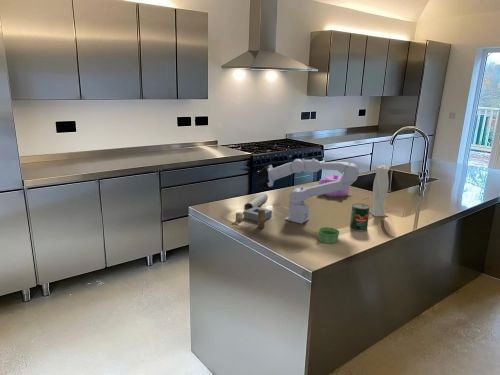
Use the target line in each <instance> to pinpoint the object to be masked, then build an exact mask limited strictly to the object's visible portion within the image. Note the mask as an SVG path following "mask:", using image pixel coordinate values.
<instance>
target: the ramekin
mask: <svg viewBox="0 0 500 375" xmlns="http://www.w3.org/2000/svg"><path fill="white" fill-rule="evenodd" d="M317 232H318V236H317V237H318V240H319V241H320V242H321V243H323V244H326V245H327V244H330V245H331V244H335V243H337V242H338V241H339V235H340V231H339V230H338V229H337V228H333V227H328V226H324V227H320V228H318V229H317Z"/></svg>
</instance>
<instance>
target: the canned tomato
mask: <svg viewBox="0 0 500 375" xmlns="http://www.w3.org/2000/svg"><path fill="white" fill-rule="evenodd" d="M370 208H371V207H370V205H368V204H365V203H359V202H358V203H353V204H352V205H351V212H350V213H351V216H350V223H349V224H350V225H349V228H350V229H351V230H353V231H357V232H365V231H367V230H368V227H369V225H368V224H369V217H370V216H369V215H370V213H369V212H370Z"/></svg>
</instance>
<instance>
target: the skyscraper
mask: <svg viewBox="0 0 500 375" xmlns="http://www.w3.org/2000/svg"><path fill="white" fill-rule="evenodd" d="M390 168H391V165H390V164H389V163H387V164H386V165H384V164H383V165H381V164H377V165H376V166H375V169H376V170H375V171H376V173H375V176H374V180H373V185H372V204H373V206H372V208H371V211H369V215H371V214H372V216H373V217H374V216H375V217H374V218H387V217H389V215H388V214H386V213H385V209H384V205H385V202H386V200H387V199H386V198H387V196H388V192H389V173H388V172H389V170H390Z"/></svg>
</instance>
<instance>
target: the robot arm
mask: <svg viewBox="0 0 500 375" xmlns="http://www.w3.org/2000/svg"><path fill="white" fill-rule="evenodd" d="M320 170H325V171H326V170H327V171H328V170H329V171H337V172H339V174H340V173H341V175H342V176H341V179H340V180H336V181H332V182H328V183H324V184H320V185H319V184H316V185H312V186H303V187H301V186H296V187H294V188H293V189H292V190H291V193H289V196H288V198H289V201H288V216H286V217H285V218H284V220H286V221H290V222H293V223H297V224H303V223H305V222H307V221H309V219H310V218H309V211H310V207H309V205H308V204H307V203H305V201H306V200H308V199H309V198H313V197H318V196H323V195H325V194H327V193H331V192H335V191H340V190H344V189H347V188H348V187H349V188H350V186H352V185H353V183H354V182H356V181H357V179H358V177H359V175H360V169H359V165H358V164H357V163H356V162H354V161H353V162H348V161H324V162H321V161H320V160H319V159H316V158H312V159H305V158H302V159H300V158H295V159H294V160H293V161H290V162H287V163H284V164H282V165H279V166H276V167H273V165H272V164H269V165H264V166H263V167H262V168H261V169H260V170H259V171H258V172H256V173H254V177H255V178H256V179H258V178H262V177H263V178H262V179H261V180H259V181H257V182H255V183H254V184H253V186H254V188H268V189H269V188H271V187H273V186H274V183H275V181H276V180H279V179H282V178H285V177H287V176H290V175H292V174H294V173H296V174H300V173H301V172H304V173H309V172H310V173H311V172H312V173H317V172H319V171H320ZM267 177H268V178H267Z"/></svg>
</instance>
